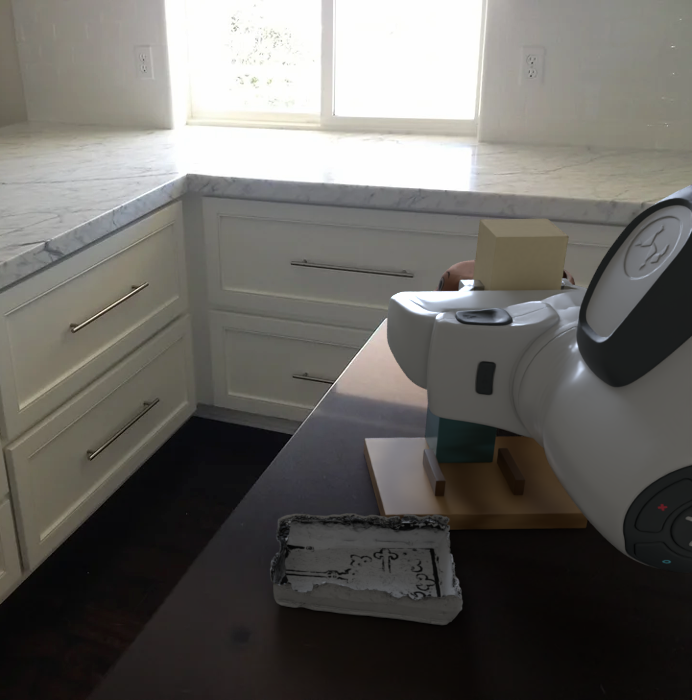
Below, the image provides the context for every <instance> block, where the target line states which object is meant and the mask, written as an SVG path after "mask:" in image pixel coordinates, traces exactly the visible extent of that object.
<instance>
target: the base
mask: <svg viewBox="0 0 692 700" xmlns="http://www.w3.org/2000/svg"><path fill="white" fill-rule="evenodd" d="M497 431H498V428H496V427H492V426H487V425H483V424H477V423H472V422H466V421H459V420H452V419H446V418H441V417H438V416H436V415H434V414H433V413H432V412H431V411H430V409H429V407H428V406H427V409H426V419H425V430H424V437H365V438H364V439H363V441H364V442H363V455H364V459H365V462H366V466H367V470H368V474H369V477H370V481H371V485H372V488H373V493H374V496H375V499H376V504H377V508H378V511H379V516H384V517H387V518H389V517H393V516H399V517H400V520H401V519H402V518H403V516H404V515H405V514H409V515H416V516H418V517H424V516H428V515H430V516H431V517H432V516H433V515H442V516H443V517H446V516H447V517H448V518H449V522H448V523H447V525H449V526H450V530H451V531H452V530H453V531H454V530H458V531H459V530H461V531H462V530H534V529H535V530H536V529H538V530H539V529H540V530H541V529H542V530H543V529H547V530H549V529H552V530H553V529H586V528H587V525H588V521H589V520H588V519H587V518H586V517H585V516H584V515H583V513H582V512H581V511H580V510H579V508H578V507H577V506H576V504H575V503H574V502H573V500H572V499H571V498H570V496H569V495H568V493H567V492H566V491H565V489H564V488H563V486H562V485H561V483H560V482H559V480H558V478H557V477H556V475H555V474H554V472H553V470H552V469H551V467H550V465H549V463H548V460H547V458H546V454H545V451H544V448H543V447H542V446H540V445H539V444H538V443H537V442H536V441H535V440H534V439H533V438H529V437H525V436H522V435H519V436H517V435H515V436H513V435H511V436H497ZM450 530H449V531H450Z"/></svg>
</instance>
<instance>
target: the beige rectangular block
mask: <svg viewBox="0 0 692 700" xmlns="http://www.w3.org/2000/svg"><path fill="white" fill-rule="evenodd" d="M478 222H479V223H478V232H477V240H476V250H475V259H474V260H475V267H474V276H473V280H480V281H481V283H483V285H484V286H485V288H484V291H503V290H561V283H562V277H563V270H565V263H566V258H567V251H568V245H569V238H570V237H569V235H568V234H567V233H565V232H564V231H563V230H561V228H559V227H558V226H557V225H556V224H554V223H553V222H552V221H551V220H549V219H548V218H497V219H496V218H485V219H483V218H482V219H481V218H480V219H479V221H478Z"/></svg>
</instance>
